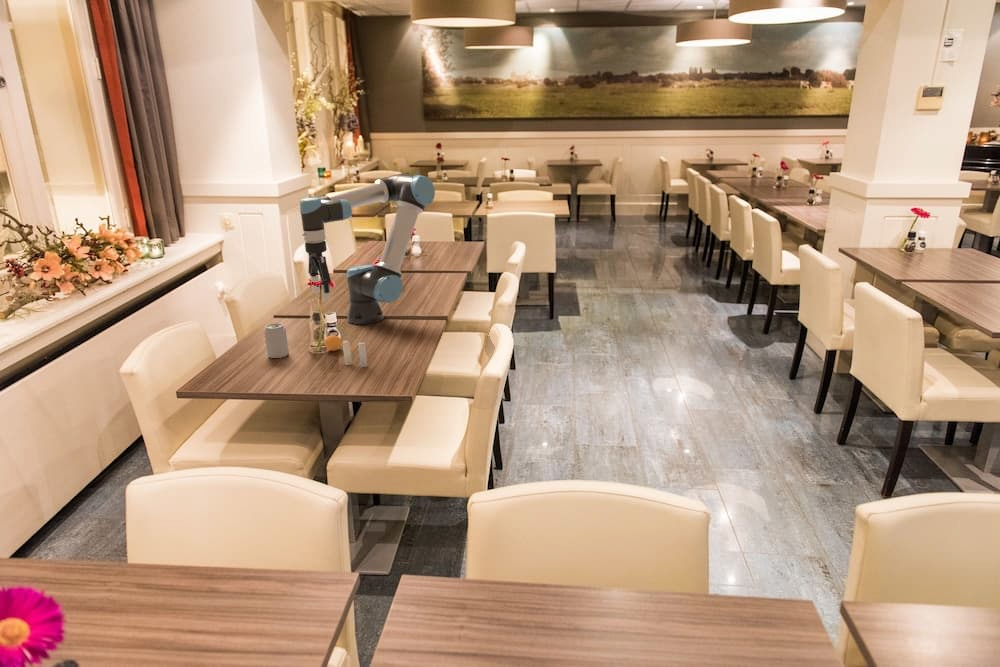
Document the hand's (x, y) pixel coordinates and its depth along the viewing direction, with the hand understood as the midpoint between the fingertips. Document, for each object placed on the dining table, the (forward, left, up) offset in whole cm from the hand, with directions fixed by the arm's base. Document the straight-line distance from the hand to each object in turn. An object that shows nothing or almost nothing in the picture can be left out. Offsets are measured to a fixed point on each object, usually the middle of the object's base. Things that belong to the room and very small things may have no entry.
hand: (321, 296), depth 253 cm
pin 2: (+31, +4, -19) cm, 37 cm away
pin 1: (+26, 0, -19) cm, 32 cm away
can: (+3, -19, -19) cm, 27 cm away
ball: (+9, 0, -16) cm, 18 cm away
